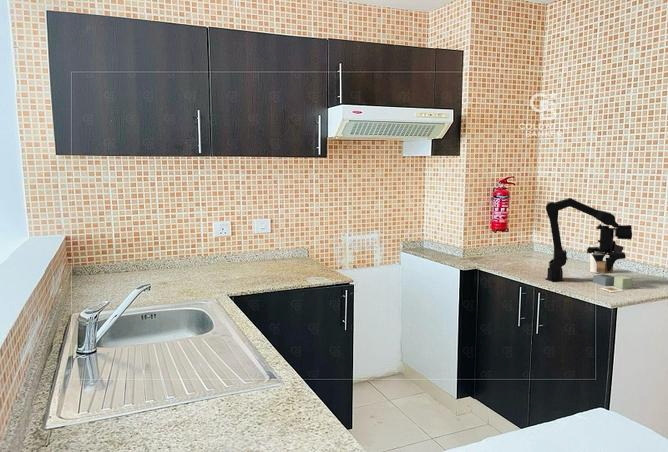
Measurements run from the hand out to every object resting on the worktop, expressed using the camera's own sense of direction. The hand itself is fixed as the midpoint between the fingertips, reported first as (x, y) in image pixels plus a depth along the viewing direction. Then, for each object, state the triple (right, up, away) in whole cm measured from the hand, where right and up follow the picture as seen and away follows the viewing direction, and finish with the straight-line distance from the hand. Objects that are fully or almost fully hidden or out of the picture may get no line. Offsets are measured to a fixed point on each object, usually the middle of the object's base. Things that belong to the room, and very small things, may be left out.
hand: (604, 270), depth 243 cm
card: (-3, -8, -11) cm, 14 cm away
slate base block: (0, -7, +1) cm, 7 cm away
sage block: (+4, -8, -7) cm, 11 cm away
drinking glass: (+8, -4, +25) cm, 26 cm away
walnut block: (0, -1, 0) cm, 1 cm away
